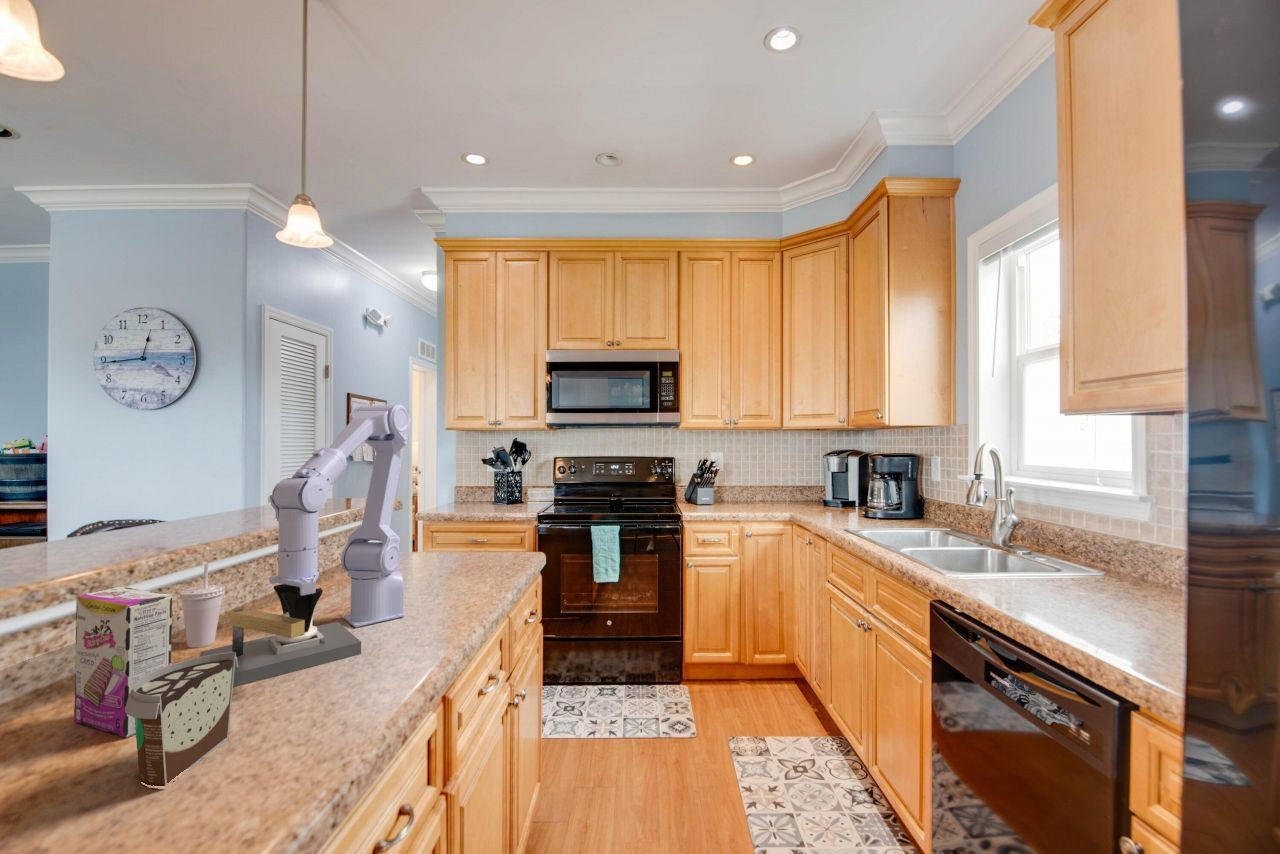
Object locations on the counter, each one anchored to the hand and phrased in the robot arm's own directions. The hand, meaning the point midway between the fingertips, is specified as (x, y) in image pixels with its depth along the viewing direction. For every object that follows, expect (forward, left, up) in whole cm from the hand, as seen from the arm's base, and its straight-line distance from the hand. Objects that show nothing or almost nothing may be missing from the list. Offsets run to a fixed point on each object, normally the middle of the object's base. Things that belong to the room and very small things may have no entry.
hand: (297, 629), depth 88 cm
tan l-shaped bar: (+5, +6, -2) cm, 8 cm away
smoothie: (+11, -18, -5) cm, 22 cm away
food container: (+17, +25, -5) cm, 31 cm away
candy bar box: (+21, +9, -5) cm, 23 cm away
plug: (0, 0, -2) cm, 2 cm away
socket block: (+2, 0, -4) cm, 5 cm away
